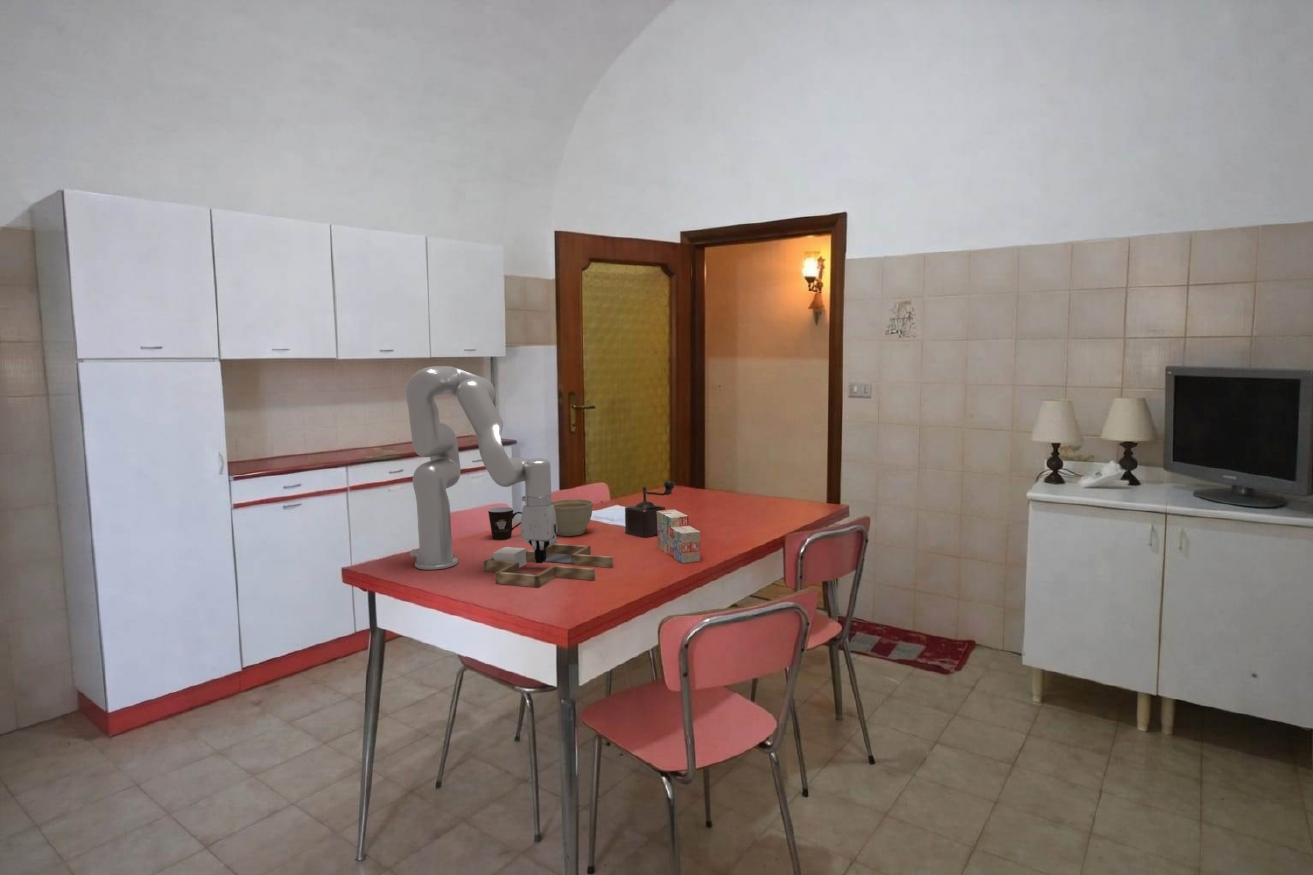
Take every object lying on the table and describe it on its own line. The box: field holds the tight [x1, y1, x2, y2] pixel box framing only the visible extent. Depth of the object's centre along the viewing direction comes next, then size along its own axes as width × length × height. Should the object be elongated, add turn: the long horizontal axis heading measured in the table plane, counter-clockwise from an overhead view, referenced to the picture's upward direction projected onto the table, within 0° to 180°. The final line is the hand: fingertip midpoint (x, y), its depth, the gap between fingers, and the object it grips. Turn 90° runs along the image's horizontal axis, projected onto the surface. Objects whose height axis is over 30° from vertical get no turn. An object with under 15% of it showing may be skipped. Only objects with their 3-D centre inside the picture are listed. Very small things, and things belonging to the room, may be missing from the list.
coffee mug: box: [487, 506, 522, 541], centre depth 268 cm, size 12×9×10 cm
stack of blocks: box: [657, 509, 701, 564], centre depth 242 cm, size 21×6×12 cm, turn 20°
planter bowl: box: [552, 498, 594, 537], centre depth 273 cm, size 16×16×11 cm
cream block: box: [492, 546, 527, 569], centre depth 232 cm, size 7×7×5 cm
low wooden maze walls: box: [483, 543, 614, 588], centre depth 228 cm, size 35×34×3 cm
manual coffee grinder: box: [624, 480, 676, 539], centre depth 272 cm, size 16×11×18 cm
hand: (540, 561), depth 229 cm, fingers closed
